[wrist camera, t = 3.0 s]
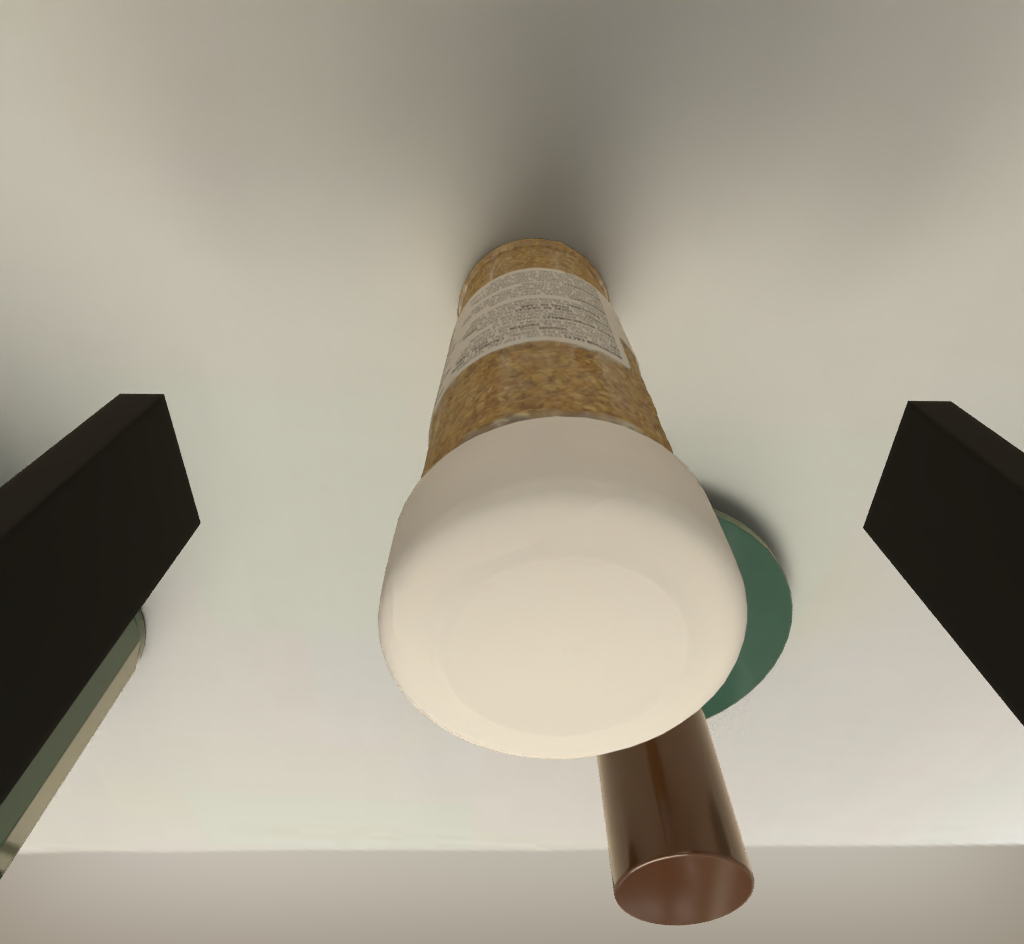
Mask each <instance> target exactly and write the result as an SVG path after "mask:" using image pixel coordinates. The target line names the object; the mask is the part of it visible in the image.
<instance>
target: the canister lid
mask: <svg viewBox="0 0 1024 944" xmlns="http://www.w3.org/2000/svg"><path fill="white" fill-rule="evenodd" d="M712 508H713V507H712ZM713 510H714V512H715V515H716V517H717V519H718V521H719V523H720V525H721V528H722V530H723V532H724V535H725V537H726V539H727V541H728V544H729V546H730V548H731V551H732V553H733V555H734V558H735V560H736V563H737V565H738V568H739V571H740V573H741V576H742V579H743V582H744V586H745V591H746V600H747V625H746V631H745V638H744V642H743V645H742V647H741V650H740V653H739V656H738V659H737V661H736V663H735V665H734V667H733V668H732V670H731V672H730V674H729V675H728V677H727V679H726V681H725V682H724V684H723V685H722V686H721V687H720V689H719V690H718V691H717V692H716V694H715V695H714V696H713V697H712V698H711V699H710V700H708V701H707V702H706V703H705V704H704V705H703V706H702V707H701V708H700V709H699V710H698V711H697V712H696V713H694V714H693V715H691V716H690V717H689V718H687V719H686V720H684V721H683V722H682V723H680V724H679V725H677V726H675V727H674V728H672V729H670V730H669V731H667V732H665V733H664V734H662V735H659V736H657V737H655V738H653V739H650V740H648V741H646V742H643V743H640V744H637V745H635V746H632V747H629V748H625V749H621V750H618V751H614V752H610V753H606V754H602V755H597V761H598V769H599V777H600V785H601V793H602V801H603V809H604V817H605V825H606V833H607V841H608V849H609V856H610V865H611V873H612V880H613V889H614V895H615V899H616V901H617V903H618V905H619V906H620V907H621V908H622V909H623V910H624V911H625V912H626V913H628V914H629V915H631V916H633V917H635V918H637V919H640V920H642V921H646V922H650V923H655V924H662V925H689V924H696V923H702V922H707V921H711V920H714V919H717V918H720V917H723V916H725V915H727V914H729V913H731V912H733V911H735V910H736V909H738V908H739V907H740V906H742V905H743V904H744V903H745V902H746V901H747V900H748V898H749V897H750V896H751V894H752V892H753V889H754V877H753V873H752V870H751V867H750V863H749V860H748V857H747V853H746V850H745V847H744V844H743V840H742V837H741V834H740V830H739V827H738V824H737V820H736V817H735V814H734V810H733V807H732V804H731V801H730V797H729V794H728V791H727V787H726V784H725V781H724V777H723V774H722V771H721V768H720V764H719V761H718V758H717V754H716V751H715V748H714V744H713V741H712V738H711V735H710V731H709V728H708V725H707V721H706V719H708V718H710V717H712V716H714V715H716V714H718V713H720V712H722V711H724V710H725V709H727V708H728V707H730V706H732V705H733V704H735V703H736V702H738V701H739V700H740V699H742V698H743V697H744V696H746V695H747V694H748V693H749V692H751V691H752V690H753V689H754V688H755V687H756V686H757V685H758V684H759V683H760V682H761V681H762V680H763V679H764V678H765V677H766V675H767V674H768V673H769V672H770V670H771V669H772V668H773V667H774V665H775V663H776V662H777V660H778V658H779V657H780V655H781V653H782V651H783V649H784V647H785V644H786V642H787V639H788V636H789V632H790V627H791V623H792V598H791V591H790V588H789V585H788V582H787V579H786V576H785V574H784V572H783V570H782V568H781V567H780V565H779V563H778V561H777V559H776V558H775V556H774V554H773V552H772V551H771V550H770V549H769V547H768V546H767V545H766V544H765V542H764V541H763V540H762V539H761V538H760V537H759V536H758V535H757V534H755V533H754V532H753V531H752V530H751V529H750V528H749V527H747V526H746V525H744V524H743V523H741V522H740V521H738V520H737V519H735V518H733V517H732V516H730V515H728V514H726V513H723V512H721V511H719V510H717V509H715V508H713Z"/></svg>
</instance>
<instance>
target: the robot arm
mask: <svg viewBox="0 0 1024 944" xmlns="http://www.w3.org/2000/svg"><path fill="white" fill-rule="evenodd" d="M199 525H200V519H199V516H198V512H197V509H196V505H195V502H194V498H193V495H192V491H191V488H190V484H189V481H188V477H187V474H186V470H185V467H184V463H183V460H182V456H181V453H180V449H179V445H178V442H177V438H176V435H175V431H174V428H173V424H172V421H171V417H170V414H169V410H168V407H167V403H166V400H165V396H164V394H119V395H118V396H116V397H115V398H114V399H113V400H111V401H110V402H109V403H108V404H106V405H105V406H104V407H102V408H101V409H100V410H99V411H97V412H96V413H95V414H94V415H92V416H91V417H90V418H88V419H87V420H86V421H85V422H83V423H82V424H81V425H80V426H78V427H77V428H76V429H74V430H73V431H72V432H71V433H69V434H68V435H67V436H65V437H64V438H63V439H62V440H60V441H59V442H58V443H57V444H55V445H54V446H53V447H51V448H50V449H49V450H48V451H46V452H45V453H44V454H43V455H41V456H40V457H39V458H37V459H36V460H35V461H34V462H32V463H31V464H30V465H29V466H27V467H26V468H25V469H23V470H22V471H21V472H20V473H18V474H17V475H16V476H15V477H13V478H12V479H11V480H9V481H8V482H7V483H6V484H4V485H3V486H2V487H0V806H1V804H2V803H3V802H4V800H5V799H6V797H7V796H8V795H9V793H10V792H11V790H12V789H13V788H14V786H15V785H16V783H17V782H18V780H19V779H20V778H21V776H22V775H23V773H24V772H25V771H26V769H27V768H28V766H29V765H30V763H31V762H32V761H33V759H34V758H35V756H36V755H37V754H38V752H39V751H40V749H41V748H42V747H43V745H44V744H45V742H46V741H47V739H48V738H49V737H50V735H51V734H52V732H53V731H54V730H55V728H56V727H57V725H58V724H59V723H60V721H61V720H62V718H63V717H64V715H65V714H66V713H67V711H68V710H69V708H70V707H71V706H72V704H73V703H74V701H75V700H76V699H77V697H78V696H79V694H80V693H81V691H82V690H83V689H84V687H85V686H86V684H87V683H88V682H89V680H90V679H91V677H92V676H93V675H94V673H95V672H96V670H97V669H98V667H99V666H100V665H101V663H102V662H103V660H104V659H105V658H106V656H107V655H108V653H109V652H110V651H111V649H112V648H113V646H114V645H115V643H116V642H117V641H118V639H119V638H120V636H121V635H122V634H123V632H124V631H125V629H126V628H127V627H128V625H129V624H130V622H131V621H132V619H133V618H134V617H135V615H136V614H137V612H138V611H139V610H140V608H141V607H142V605H143V604H144V603H145V601H146V600H147V598H148V597H149V595H150V594H151V593H152V591H153V590H154V588H155V587H156V586H157V584H158V583H159V581H160V580H161V579H162V577H163V576H164V574H165V573H166V571H167V570H168V569H169V567H170V566H171V564H172V563H173V562H174V560H175V559H176V557H177V556H178V555H179V553H180V552H181V550H182V549H183V547H184V546H185V545H186V543H187V542H188V540H189V539H190V538H191V536H192V535H193V533H194V532H195V531H196V529H197V528H198V526H199ZM863 528H864V530H865V531H866V532H867V533H868V535H869V536H870V537H871V538H872V540H873V541H874V542H875V543H876V544H877V546H878V547H879V548H880V549H881V551H882V552H883V553H884V554H885V556H886V557H887V558H888V559H889V560H890V562H891V563H892V564H893V565H894V567H895V568H896V569H897V570H898V572H899V573H900V574H901V575H902V577H903V578H904V579H905V580H906V581H907V583H908V584H909V585H910V586H911V588H912V589H913V590H914V591H915V593H916V594H917V595H918V596H919V598H920V599H921V600H922V601H923V602H924V604H925V605H926V606H927V607H928V609H929V610H930V611H931V612H932V614H933V615H934V616H935V617H936V618H937V620H938V621H939V622H940V623H941V625H942V626H943V627H944V628H945V630H946V631H947V632H948V633H949V635H950V636H951V637H952V638H953V639H954V641H955V642H956V643H957V644H958V646H959V647H960V648H961V649H962V651H963V652H964V653H965V654H966V655H967V657H968V658H969V659H970V660H971V662H972V663H973V664H974V665H975V667H976V668H977V669H978V670H979V672H980V673H981V674H982V675H983V676H984V678H985V679H986V680H987V681H988V683H989V684H990V685H991V686H992V688H993V689H994V690H995V691H996V692H997V694H998V695H999V696H1000V697H1001V699H1002V700H1003V701H1004V702H1005V704H1006V705H1007V706H1008V707H1009V709H1010V710H1011V711H1012V712H1013V713H1014V715H1015V716H1016V717H1017V718H1018V720H1019V721H1020V722H1021V723H1022V725H1023V726H1024V453H1023V452H1022V451H1021V450H1019V449H1018V448H1016V447H1015V446H1013V445H1012V444H1011V443H1009V442H1008V441H1006V440H1005V439H1004V438H1002V437H1001V436H999V435H998V434H996V433H995V432H994V431H992V430H991V429H989V428H988V427H986V426H985V425H984V424H982V423H981V422H979V421H978V420H977V419H975V418H974V417H972V416H971V415H969V414H968V413H967V412H965V411H964V410H962V409H961V408H959V407H958V406H957V405H955V404H954V403H952V402H951V401H908V403H907V405H906V408H905V411H904V414H903V417H902V419H901V422H900V425H899V428H898V431H897V434H896V436H895V439H894V442H893V445H892V448H891V450H890V453H889V456H888V459H887V462H886V465H885V467H884V470H883V473H882V476H881V479H880V482H879V484H878V487H877V490H876V493H875V496H874V498H873V501H872V504H871V507H870V510H869V513H868V515H867V518H866V521H865V524H864V527H863Z"/></svg>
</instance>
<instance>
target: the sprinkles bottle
mask: <svg viewBox="0 0 1024 944" xmlns="http://www.w3.org/2000/svg"><path fill="white" fill-rule="evenodd" d="M746 625H747V600H746V591H745V586H744V582H743V579H742V576H741V573H740V571H739V568H738V565H737V563H736V560H735V558H734V555H733V553H732V551H731V548H730V546H729V544H728V541H727V539H726V537H725V535H724V532H723V530H722V528H721V525H720V523H719V521H718V519H717V517H716V515H715V512H714V510H713V508H712V506H711V504H710V502H709V500H708V498H707V495H706V493H705V491H704V490H703V488H702V487H701V486H700V484H699V483H698V481H697V480H696V478H695V477H694V476H693V474H692V473H691V472H690V470H689V469H688V467H687V466H686V465H685V464H684V463H683V462H682V461H680V460H679V459H678V458H677V457H676V456H675V455H674V454H673V451H672V449H671V446H670V444H669V442H668V440H667V438H666V435H665V433H664V431H663V429H662V427H661V425H660V422H659V418H658V416H657V412H656V409H655V407H654V404H653V402H652V399H651V397H650V395H649V393H648V391H647V389H646V386H645V384H644V381H643V379H642V377H641V373H640V368H639V364H638V361H637V359H636V356H635V354H634V352H633V350H632V348H631V346H630V343H629V341H628V339H627V337H626V335H625V333H624V330H623V328H622V326H621V323H620V321H619V319H618V317H617V315H616V313H615V311H614V309H613V308H612V306H611V305H610V303H609V297H608V292H607V289H606V286H605V284H604V282H603V281H602V279H601V277H600V275H599V274H598V272H597V270H596V269H595V268H594V267H593V266H592V265H591V264H590V262H589V261H588V260H587V259H586V258H585V257H583V256H582V255H581V254H579V253H578V252H576V251H575V250H573V249H571V248H569V247H568V246H566V245H565V244H563V243H561V242H558V241H549V240H543V239H521V240H517V241H514V242H511V243H507V244H505V245H502V246H499V247H497V248H496V249H495V250H494V251H493V252H491V253H490V254H488V255H487V256H485V257H484V258H483V259H482V260H481V261H480V262H479V263H478V264H477V265H476V266H475V267H474V269H473V270H472V271H471V273H470V274H469V276H468V278H467V280H466V281H465V283H464V286H463V288H462V291H461V294H460V298H459V306H458V320H457V322H456V325H455V328H454V331H453V335H452V339H451V343H450V347H449V351H448V355H447V359H446V363H445V367H444V371H443V375H442V378H441V383H440V387H439V391H438V394H437V398H436V402H435V405H434V409H433V413H432V418H431V424H430V430H429V442H428V452H427V457H426V462H425V467H424V470H423V473H422V476H421V480H420V481H419V482H418V484H417V485H416V486H415V488H414V489H413V491H412V493H411V494H410V496H409V497H408V499H407V501H406V502H405V504H404V507H403V509H402V512H401V514H400V516H399V519H398V523H397V527H396V530H395V534H394V538H393V542H392V546H391V550H390V554H389V558H388V563H387V567H386V571H385V576H384V581H383V587H382V592H381V597H380V605H379V613H378V626H379V637H380V644H381V648H382V651H383V655H384V658H385V661H386V663H387V666H388V668H389V670H390V672H391V674H392V676H393V678H394V680H395V682H396V683H397V685H398V687H399V688H400V689H401V690H402V692H403V693H404V694H405V696H406V697H407V698H408V699H409V700H410V701H411V703H412V704H413V705H414V706H415V707H416V708H417V709H418V710H419V711H421V712H422V713H423V714H424V715H425V716H427V717H428V718H429V719H430V720H432V721H433V722H434V723H436V724H437V725H439V726H440V727H442V728H443V729H445V730H447V731H448V732H450V733H452V734H454V735H456V736H458V737H460V738H461V739H463V740H466V741H468V742H471V743H473V744H476V745H479V746H482V747H485V748H488V749H491V750H495V751H498V752H503V753H507V754H512V755H518V756H524V757H531V758H546V759H568V758H583V757H589V756H595V755H602V754H606V753H610V752H614V751H618V750H621V749H625V748H629V747H632V746H635V745H637V744H640V743H643V742H646V741H648V740H650V739H653V738H655V737H657V736H659V735H662V734H664V733H665V732H667V731H669V730H670V729H672V728H674V727H675V726H677V725H679V724H680V723H682V722H683V721H684V720H686V719H687V718H689V717H690V716H691V715H693V714H694V713H696V712H697V711H698V710H699V709H700V708H701V707H702V706H703V705H704V704H705V703H706V702H707V701H708V700H710V699H711V698H712V697H713V696H714V695H715V694H716V692H717V691H718V690H719V689H720V687H721V686H722V685H723V684H724V682H725V681H726V679H727V677H728V675H729V674H730V672H731V670H732V668H733V667H734V665H735V663H736V661H737V659H738V656H739V653H740V650H741V647H742V645H743V642H744V638H745V631H746Z"/></svg>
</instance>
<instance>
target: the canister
mask: <svg viewBox="0 0 1024 944" xmlns="http://www.w3.org/2000/svg"><path fill="white" fill-rule="evenodd" d="M144 644H145V625H144V620H143V616H142V613H141V609H140V610H139V611H138V612H137V614H136V615H135V617H134V618H133V619H132V621H131V622H130V624H129V625H128V627H127V628H126V629H125V631H124V632H123V634H122V635H121V636H120V638H119V639H118V641H117V642H116V643H115V645H114V646H113V648H112V649H111V651H110V652H109V653H108V655H107V656H106V658H105V659H104V660H103V662H102V663H101V665H100V666H99V667H98V669H97V670H96V672H95V673H94V675H93V676H92V677H91V679H90V680H89V682H88V683H87V684H86V686H85V687H84V689H83V690H82V691H81V693H80V694H79V696H78V697H77V699H76V700H75V701H74V703H73V704H72V706H71V707H70V708H69V710H68V711H67V713H66V714H65V715H64V717H63V718H62V720H61V721H60V723H59V724H58V725H57V727H56V728H55V730H54V731H53V732H52V734H51V735H50V737H49V738H48V739H47V741H46V742H45V744H44V745H43V747H42V748H41V749H40V751H39V752H38V754H37V755H36V756H35V758H34V759H33V761H32V762H31V763H30V765H29V766H28V768H27V769H26V771H25V772H24V773H23V775H22V776H21V778H20V779H19V780H18V782H17V783H16V785H15V786H14V788H13V789H12V790H11V792H10V793H9V795H8V796H7V797H6V799H5V800H4V802H3V803H2V804H1V806H0V879H1V878H2V876H3V875H4V873H5V871H6V870H7V868H8V867H9V865H10V864H11V862H12V861H13V859H14V857H15V856H16V854H17V853H18V851H19V850H20V848H21V847H22V845H23V844H24V842H25V840H26V839H27V837H28V836H29V834H30V833H31V831H32V830H33V828H34V826H35V825H36V823H37V822H38V820H39V819H40V817H41V816H42V814H43V812H44V811H45V809H46V808H47V806H48V805H49V803H50V802H51V800H52V798H53V797H54V795H55V794H56V792H57V791H58V789H59V788H60V786H61V785H62V783H63V781H64V780H65V778H66V777H67V775H68V774H69V772H70V771H71V769H72V767H73V766H74V764H75V763H76V761H77V760H78V758H79V757H80V755H81V753H82V752H83V750H84V749H85V747H86V746H87V744H88V743H89V741H90V740H91V738H92V736H93V735H94V733H95V732H96V730H97V729H98V727H99V726H100V724H101V722H102V721H103V719H104V718H105V716H106V715H107V713H108V712H109V710H110V708H111V707H112V705H113V704H114V702H115V701H116V699H117V698H118V696H119V695H120V693H121V691H122V690H123V688H124V687H125V685H126V684H127V682H128V681H129V679H130V677H131V676H132V674H133V673H134V671H135V668H136V664H137V662H138V661H139V659H140V657H141V655H142V651H143V648H144Z"/></svg>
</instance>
